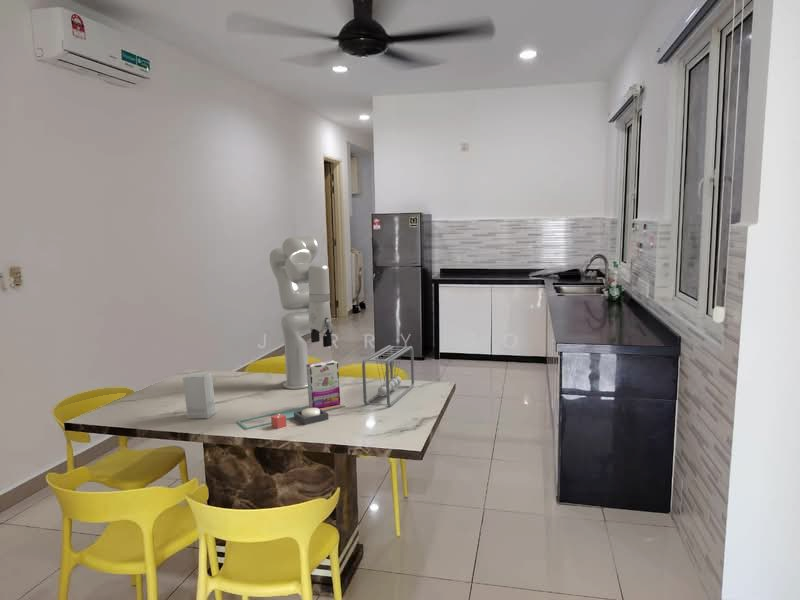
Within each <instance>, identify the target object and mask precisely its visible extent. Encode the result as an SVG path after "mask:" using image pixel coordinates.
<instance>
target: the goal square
mask: <svg viewBox="0 0 800 600" xmlns="http://www.w3.org/2000/svg"><path fill="white" fill-rule="evenodd" d="M342 406H345V404H342V403H340V404H339V405H335V406H330V407H325V408H319V409H321V410H323V411H324V410H328V409H333V408H337V407H342ZM305 408H310V407H309V405H306V407H305ZM342 408H343V407H342Z"/></svg>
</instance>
